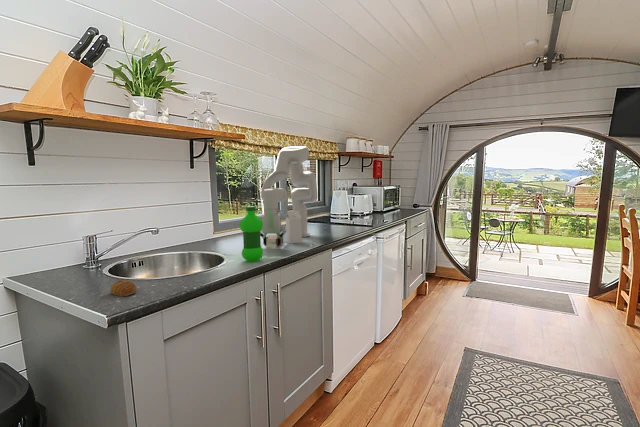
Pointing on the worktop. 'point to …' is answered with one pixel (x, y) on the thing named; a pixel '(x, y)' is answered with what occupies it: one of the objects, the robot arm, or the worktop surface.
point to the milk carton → (293, 227)
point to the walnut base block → (275, 237)
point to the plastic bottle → (251, 235)
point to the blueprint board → (277, 247)
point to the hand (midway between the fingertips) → (272, 245)
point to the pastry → (123, 288)
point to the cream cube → (271, 242)
